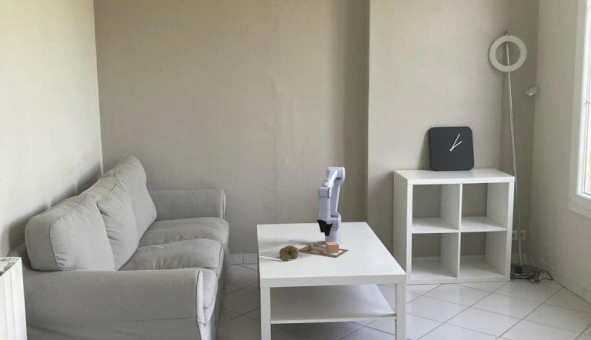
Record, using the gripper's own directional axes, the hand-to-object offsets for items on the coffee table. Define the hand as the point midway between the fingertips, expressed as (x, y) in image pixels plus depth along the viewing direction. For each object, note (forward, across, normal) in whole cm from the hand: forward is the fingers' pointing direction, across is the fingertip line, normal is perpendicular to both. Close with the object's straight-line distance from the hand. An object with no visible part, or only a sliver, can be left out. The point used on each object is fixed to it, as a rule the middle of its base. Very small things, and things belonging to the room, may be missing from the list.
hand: (324, 234), depth 322 cm
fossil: (+10, +9, -22) cm, 26 cm away
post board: (+9, +2, -2) cm, 10 cm away
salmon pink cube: (+8, +6, +2) cm, 11 cm away
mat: (+9, +6, +2) cm, 12 cm away
